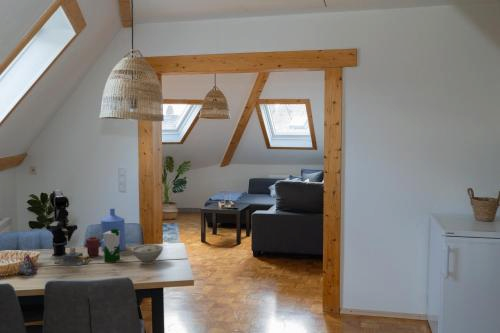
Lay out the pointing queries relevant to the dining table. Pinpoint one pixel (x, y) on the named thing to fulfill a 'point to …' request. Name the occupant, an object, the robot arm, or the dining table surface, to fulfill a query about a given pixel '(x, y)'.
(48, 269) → the dining table surface
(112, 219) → the water jug
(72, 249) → the gray square beam
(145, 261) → the bowl
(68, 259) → the square socket plate
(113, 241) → the milk carton
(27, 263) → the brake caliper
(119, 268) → the dining table surface
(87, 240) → the mechanical component
